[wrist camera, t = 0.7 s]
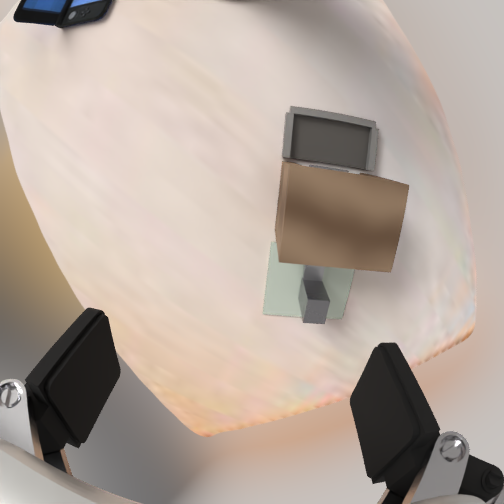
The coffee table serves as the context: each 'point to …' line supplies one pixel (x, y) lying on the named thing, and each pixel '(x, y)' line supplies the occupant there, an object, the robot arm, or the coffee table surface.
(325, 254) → the tunnel
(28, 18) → the handheld game console
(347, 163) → the grey picture frame
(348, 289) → the mat
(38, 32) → the coffee table surface
